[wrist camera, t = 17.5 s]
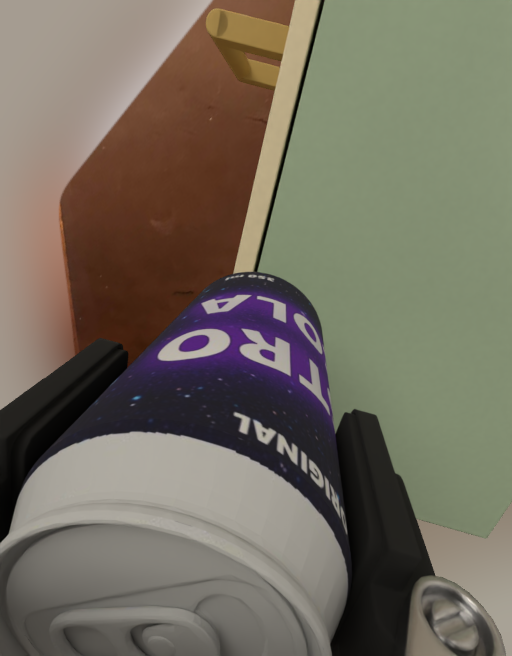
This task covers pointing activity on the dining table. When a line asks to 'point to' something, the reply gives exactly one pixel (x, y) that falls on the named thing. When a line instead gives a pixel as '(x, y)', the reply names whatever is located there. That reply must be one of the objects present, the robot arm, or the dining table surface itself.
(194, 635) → the beverage can
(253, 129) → the dining table surface
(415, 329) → the cupboard
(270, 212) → the cupboard door
